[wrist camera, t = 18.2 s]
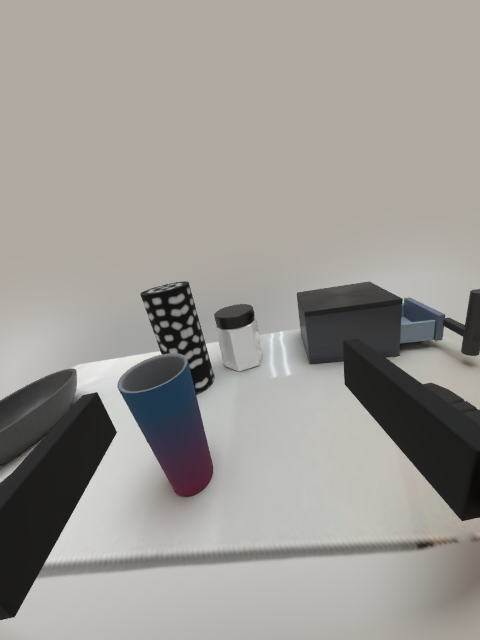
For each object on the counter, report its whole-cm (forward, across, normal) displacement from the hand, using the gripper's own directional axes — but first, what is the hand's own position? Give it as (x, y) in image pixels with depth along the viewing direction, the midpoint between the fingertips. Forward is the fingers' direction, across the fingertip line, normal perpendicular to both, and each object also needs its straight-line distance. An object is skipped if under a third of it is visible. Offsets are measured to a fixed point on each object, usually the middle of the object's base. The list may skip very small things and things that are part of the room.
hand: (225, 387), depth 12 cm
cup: (+10, -8, -18) cm, 22 cm away
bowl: (+25, -39, -18) cm, 50 cm away
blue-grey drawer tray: (+28, +31, -17) cm, 45 cm away
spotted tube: (+30, -10, -18) cm, 37 cm away
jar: (+34, +1, -18) cm, 39 cm away
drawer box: (+33, +23, -18) cm, 44 cm away
